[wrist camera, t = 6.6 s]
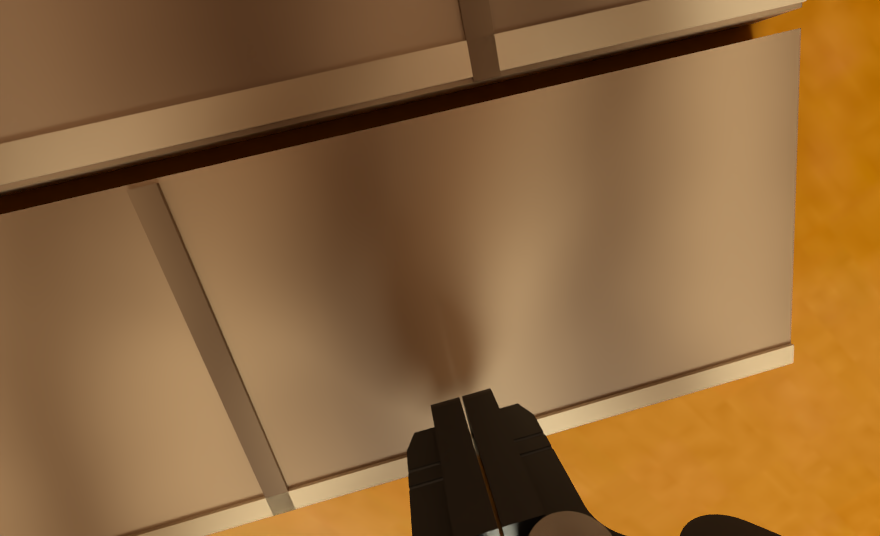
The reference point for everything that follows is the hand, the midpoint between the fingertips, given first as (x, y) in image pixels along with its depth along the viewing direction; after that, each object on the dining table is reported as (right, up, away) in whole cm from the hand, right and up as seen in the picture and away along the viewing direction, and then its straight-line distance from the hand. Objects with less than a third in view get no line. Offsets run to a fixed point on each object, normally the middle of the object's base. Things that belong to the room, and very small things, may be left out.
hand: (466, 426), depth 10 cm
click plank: (-2, +3, +1) cm, 4 cm away
